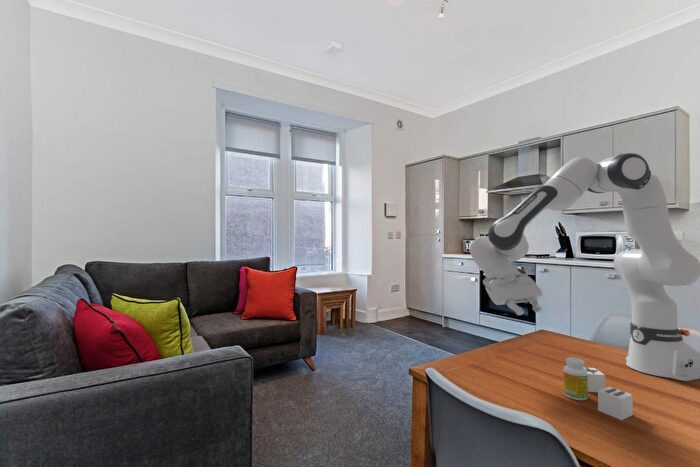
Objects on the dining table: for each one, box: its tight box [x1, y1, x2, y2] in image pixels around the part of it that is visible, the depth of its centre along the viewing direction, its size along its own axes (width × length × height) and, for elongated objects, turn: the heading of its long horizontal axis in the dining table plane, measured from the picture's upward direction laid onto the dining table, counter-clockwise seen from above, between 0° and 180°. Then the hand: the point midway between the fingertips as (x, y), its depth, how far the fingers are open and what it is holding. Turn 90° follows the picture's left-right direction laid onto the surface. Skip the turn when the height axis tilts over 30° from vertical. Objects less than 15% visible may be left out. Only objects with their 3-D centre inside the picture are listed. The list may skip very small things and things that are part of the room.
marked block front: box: [597, 386, 634, 421], centre depth 83 cm, size 5×5×5 cm
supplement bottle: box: [563, 356, 589, 401], centre depth 91 cm, size 5×5×10 cm
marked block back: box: [583, 366, 606, 393], centre depth 96 cm, size 5×5×5 cm
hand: (530, 312), depth 103 cm, fingers open, 7 cm apart
